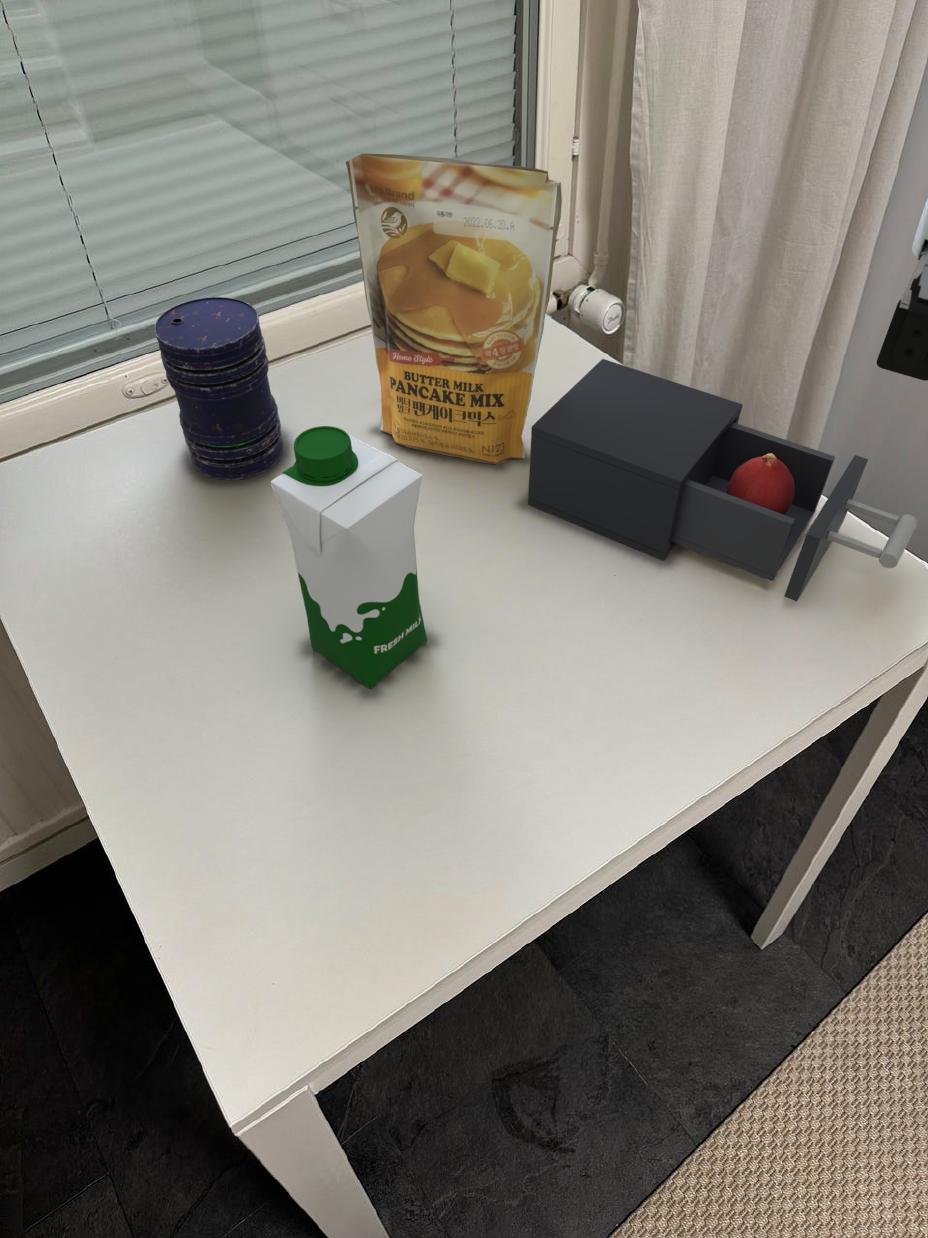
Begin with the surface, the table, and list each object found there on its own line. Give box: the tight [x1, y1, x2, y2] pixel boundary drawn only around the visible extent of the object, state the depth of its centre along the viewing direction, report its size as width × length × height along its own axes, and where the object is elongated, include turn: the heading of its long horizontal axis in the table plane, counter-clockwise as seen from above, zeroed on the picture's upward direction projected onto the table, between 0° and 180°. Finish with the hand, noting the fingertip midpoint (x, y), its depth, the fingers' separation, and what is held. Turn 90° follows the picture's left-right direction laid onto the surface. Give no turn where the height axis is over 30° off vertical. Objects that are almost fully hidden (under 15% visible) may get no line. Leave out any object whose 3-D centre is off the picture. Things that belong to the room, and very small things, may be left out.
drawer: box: [671, 422, 918, 603], centre depth 80 cm, size 20×13×7 cm, turn 56°
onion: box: [727, 453, 795, 515], centre depth 80 cm, size 6×6×8 cm
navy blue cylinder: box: [153, 296, 285, 481], centre depth 89 cm, size 10×10×15 cm
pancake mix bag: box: [345, 152, 563, 465], centre depth 86 cm, size 7×19×28 cm, turn 71°
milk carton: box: [270, 425, 428, 690], centre depth 69 cm, size 9×9×20 cm
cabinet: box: [527, 358, 743, 561], centre depth 86 cm, size 15×14×9 cm
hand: (926, 335), depth 55 cm, fingers open, 9 cm apart
